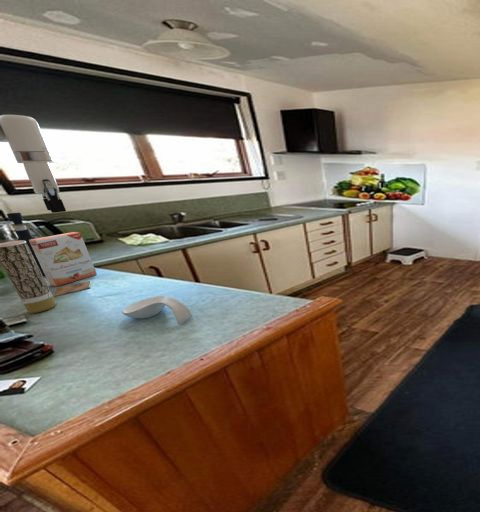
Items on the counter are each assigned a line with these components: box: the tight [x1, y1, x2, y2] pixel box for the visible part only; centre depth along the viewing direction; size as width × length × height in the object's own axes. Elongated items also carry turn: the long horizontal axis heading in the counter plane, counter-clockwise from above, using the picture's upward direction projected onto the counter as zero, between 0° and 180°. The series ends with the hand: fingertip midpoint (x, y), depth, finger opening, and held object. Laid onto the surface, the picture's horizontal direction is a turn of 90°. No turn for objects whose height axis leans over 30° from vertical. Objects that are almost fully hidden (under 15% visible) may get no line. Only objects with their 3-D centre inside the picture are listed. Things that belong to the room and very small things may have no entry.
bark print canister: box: [0, 240, 57, 314], centre depth 94 cm, size 7×7×25 cm
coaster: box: [53, 280, 91, 298], centre depth 114 cm, size 10×10×1 cm
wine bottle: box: [6, 212, 46, 277], centre depth 126 cm, size 6×6×30 cm
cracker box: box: [29, 231, 98, 287], centre depth 120 cm, size 14×6×21 cm, turn 161°
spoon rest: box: [121, 295, 193, 325], centre depth 90 cm, size 24×12×7 cm, turn 73°
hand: (56, 210), depth 93 cm, fingers open, 9 cm apart
